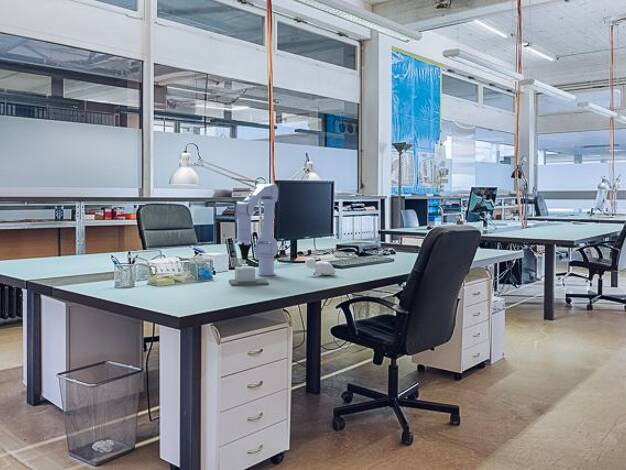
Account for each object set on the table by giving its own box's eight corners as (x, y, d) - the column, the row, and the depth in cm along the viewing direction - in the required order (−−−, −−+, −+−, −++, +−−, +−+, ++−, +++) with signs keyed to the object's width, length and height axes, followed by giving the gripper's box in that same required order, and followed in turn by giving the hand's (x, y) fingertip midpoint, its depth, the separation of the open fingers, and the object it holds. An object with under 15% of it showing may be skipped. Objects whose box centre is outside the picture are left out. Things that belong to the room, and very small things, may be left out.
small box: (234, 278, 264) (236, 282, 253) (234, 266, 263) (236, 269, 253) (252, 278, 265) (255, 281, 255) (252, 266, 265) (255, 269, 255)
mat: (228, 281, 261) (228, 279, 261) (264, 280, 265) (264, 278, 265) (231, 286, 250) (231, 283, 250) (268, 284, 253) (268, 282, 253)
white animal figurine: (328, 280, 288) (300, 269, 286) (335, 264, 288) (307, 253, 285) (332, 282, 280) (303, 271, 277) (338, 266, 280) (309, 255, 277)
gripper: (233, 228, 267) (234, 258, 268) (237, 230, 253) (237, 261, 254) (249, 228, 268) (249, 257, 269) (253, 230, 254) (253, 261, 255)
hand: (244, 259), depth 262 cm, fingers closed
